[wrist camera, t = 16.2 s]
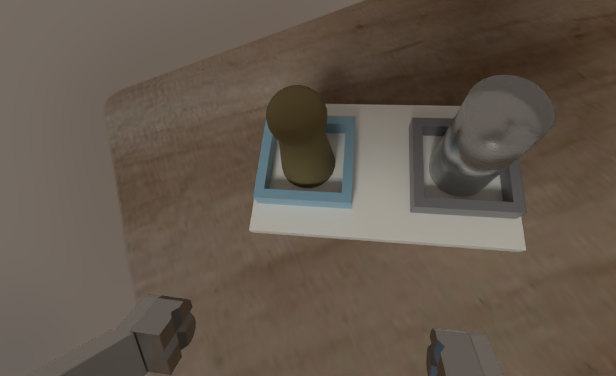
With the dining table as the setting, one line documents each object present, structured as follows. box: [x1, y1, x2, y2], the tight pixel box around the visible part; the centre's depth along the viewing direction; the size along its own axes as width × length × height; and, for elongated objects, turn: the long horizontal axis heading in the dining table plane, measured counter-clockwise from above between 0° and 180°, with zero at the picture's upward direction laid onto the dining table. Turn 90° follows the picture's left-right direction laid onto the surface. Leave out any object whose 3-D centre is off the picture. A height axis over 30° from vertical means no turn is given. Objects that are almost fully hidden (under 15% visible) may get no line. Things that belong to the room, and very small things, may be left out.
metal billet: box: [429, 75, 555, 197], centre depth 28 cm, size 6×6×11 cm
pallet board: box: [249, 104, 527, 252], centre depth 34 cm, size 27×16×3 cm, turn 85°
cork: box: [266, 85, 335, 188], centre depth 30 cm, size 6×6×11 cm
